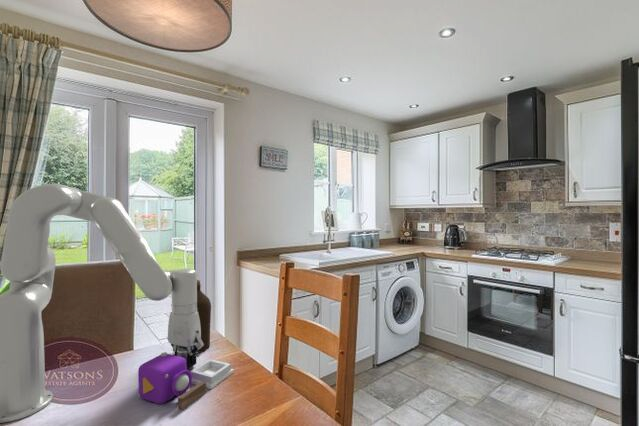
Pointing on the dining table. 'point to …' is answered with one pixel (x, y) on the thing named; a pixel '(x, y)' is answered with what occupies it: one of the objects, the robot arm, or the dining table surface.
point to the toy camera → (163, 378)
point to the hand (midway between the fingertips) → (185, 363)
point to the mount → (211, 373)
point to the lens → (184, 355)
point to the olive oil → (204, 317)
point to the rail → (191, 395)
